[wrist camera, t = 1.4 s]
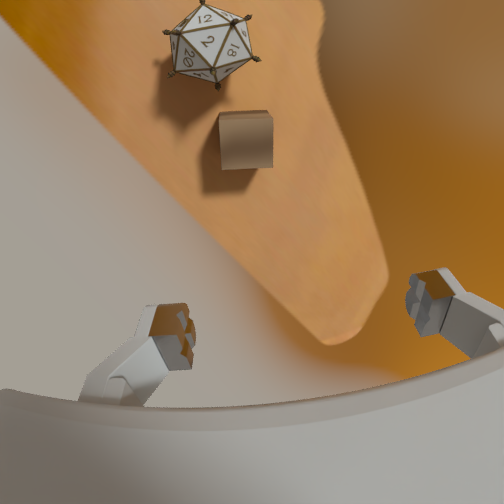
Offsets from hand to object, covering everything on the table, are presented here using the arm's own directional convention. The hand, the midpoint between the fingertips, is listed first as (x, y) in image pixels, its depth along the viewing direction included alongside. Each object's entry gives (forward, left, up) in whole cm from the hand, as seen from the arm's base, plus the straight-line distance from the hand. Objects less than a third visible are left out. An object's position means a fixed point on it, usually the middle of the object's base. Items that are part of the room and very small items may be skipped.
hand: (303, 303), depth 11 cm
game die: (-10, -4, -26) cm, 28 cm away
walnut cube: (0, -1, -26) cm, 26 cm away
